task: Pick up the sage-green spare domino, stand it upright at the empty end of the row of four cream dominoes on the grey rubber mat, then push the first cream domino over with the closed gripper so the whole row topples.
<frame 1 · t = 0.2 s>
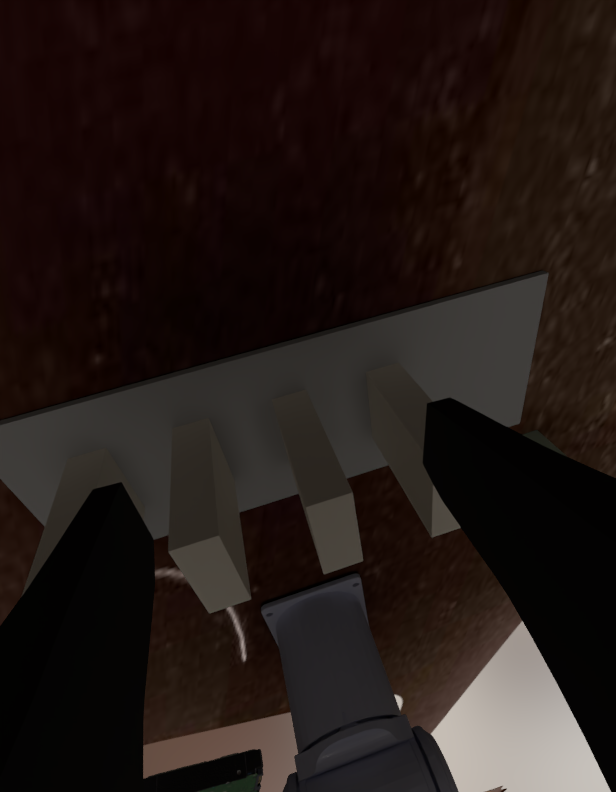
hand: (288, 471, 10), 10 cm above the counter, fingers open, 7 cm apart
domino 4: (384, 402, 22), resting on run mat
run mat: (295, 423, 22), on the counter
domino 3: (297, 428, 22), resting on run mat
domino 1: (109, 484, 21), resting on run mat
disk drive: (198, 773, 50), on the counter
domino 2: (205, 455, 21), resting on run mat
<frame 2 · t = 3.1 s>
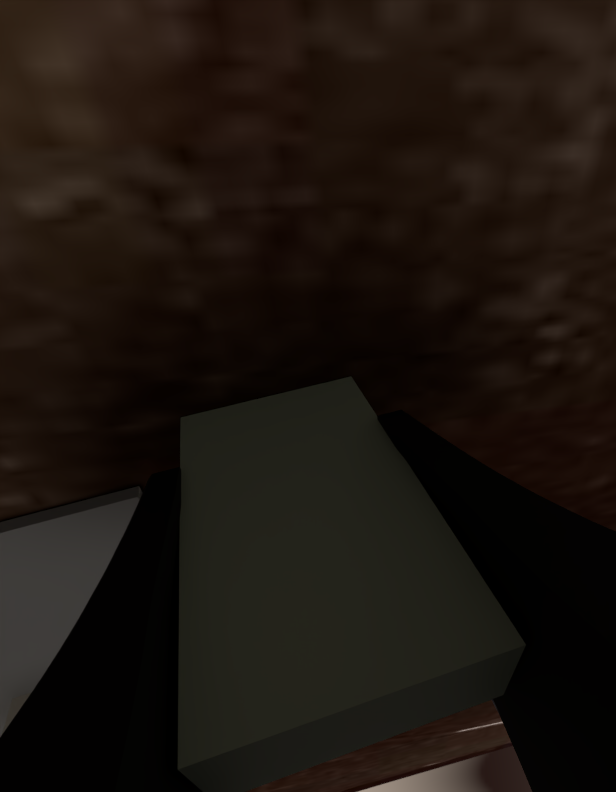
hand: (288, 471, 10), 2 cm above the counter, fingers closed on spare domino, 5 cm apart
domino 4: (89, 686, 15), resting on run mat
spare domino: (273, 422, 11), on the counter, touching gripper
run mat: (137, 718, 19), on the counter
when the fingers open (3 cm above the counter, at t = 7.0 s): spare domino stays where it is, resting on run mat.
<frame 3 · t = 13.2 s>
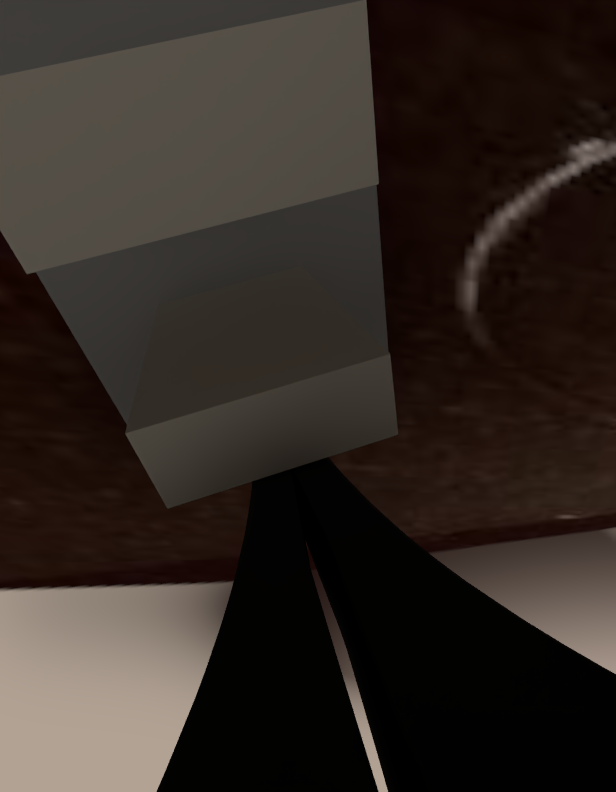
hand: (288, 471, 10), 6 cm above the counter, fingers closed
domino 1: (239, 311, 13), resting on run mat, touching gripper
domino 2: (183, 130, 10), resting on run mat
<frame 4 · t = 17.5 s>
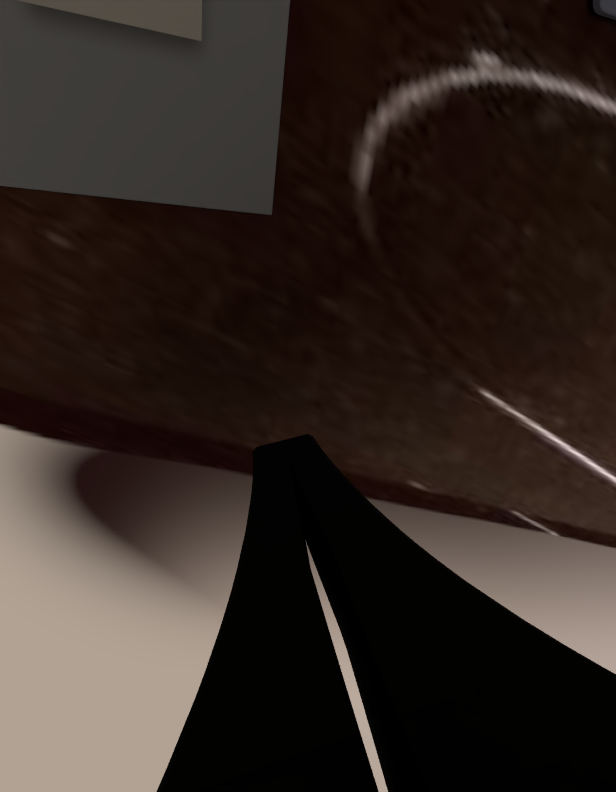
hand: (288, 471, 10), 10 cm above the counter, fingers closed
domino 1: (113, 11, 11), point 1 cm above the counter, tilted 69°, touching domino 2, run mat
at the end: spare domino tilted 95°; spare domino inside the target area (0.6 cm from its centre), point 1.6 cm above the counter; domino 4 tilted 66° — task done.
